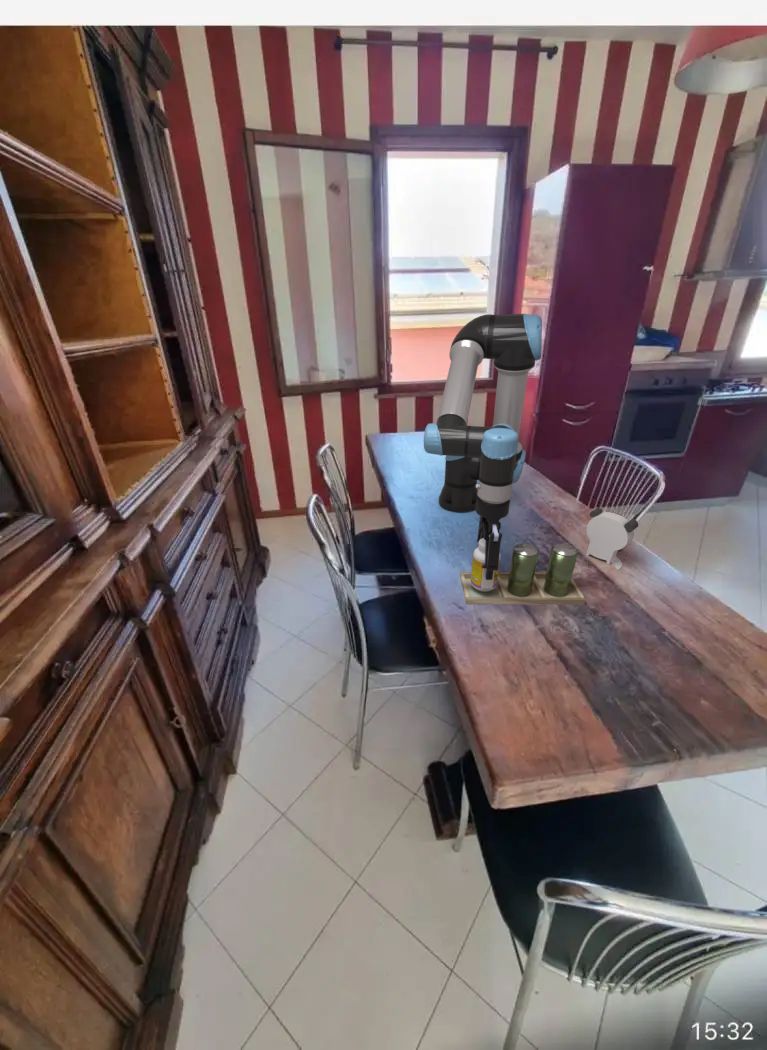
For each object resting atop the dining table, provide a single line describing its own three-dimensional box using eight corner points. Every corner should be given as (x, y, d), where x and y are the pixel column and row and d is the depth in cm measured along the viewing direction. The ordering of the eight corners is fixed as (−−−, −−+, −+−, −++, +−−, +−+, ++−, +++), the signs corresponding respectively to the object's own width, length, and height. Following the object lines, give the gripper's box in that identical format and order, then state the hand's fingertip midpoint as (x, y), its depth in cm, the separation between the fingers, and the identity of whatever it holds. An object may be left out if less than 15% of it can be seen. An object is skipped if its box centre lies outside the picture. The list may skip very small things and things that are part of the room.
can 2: (540, 583, 111) (548, 543, 105) (563, 583, 111) (572, 542, 105) (547, 597, 106) (556, 555, 100) (571, 597, 105) (581, 555, 99)
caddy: (459, 579, 115) (460, 572, 113) (566, 579, 114) (568, 572, 112) (465, 607, 104) (466, 599, 103) (583, 607, 103) (585, 599, 102)
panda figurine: (630, 562, 120) (645, 516, 113) (613, 578, 114) (627, 530, 107) (589, 546, 128) (600, 502, 121) (571, 560, 122) (582, 514, 115)
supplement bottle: (477, 594, 104) (482, 551, 98) (465, 579, 110) (469, 537, 104) (501, 589, 106) (507, 546, 100) (488, 575, 112) (493, 533, 105)
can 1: (504, 583, 111) (510, 543, 105) (527, 583, 111) (534, 543, 105) (510, 597, 106) (516, 555, 100) (534, 597, 106) (542, 555, 100)
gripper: (470, 481, 105) (463, 558, 116) (484, 517, 88) (475, 603, 99) (500, 481, 105) (491, 558, 116) (520, 517, 87) (507, 603, 98)
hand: (483, 578), depth 107 cm, fingers closed on supplement bottle, 7 cm apart
